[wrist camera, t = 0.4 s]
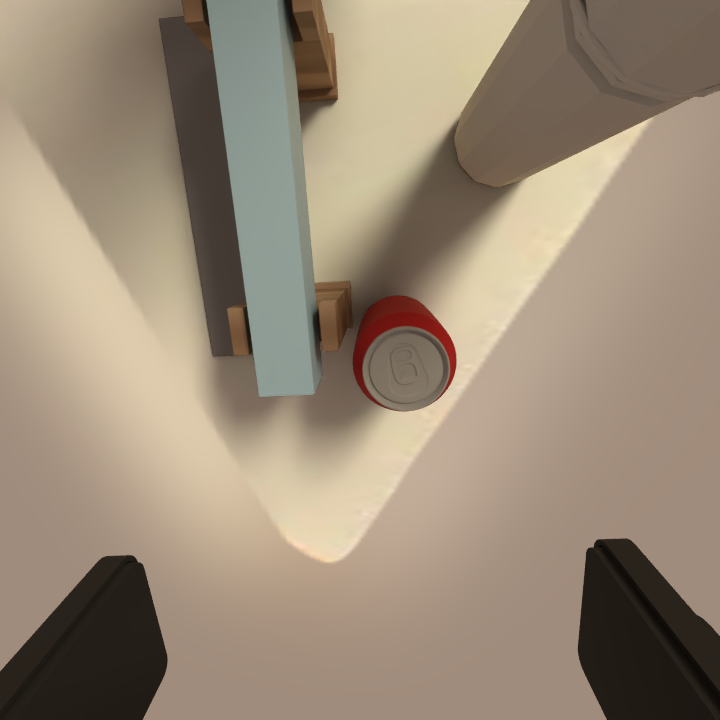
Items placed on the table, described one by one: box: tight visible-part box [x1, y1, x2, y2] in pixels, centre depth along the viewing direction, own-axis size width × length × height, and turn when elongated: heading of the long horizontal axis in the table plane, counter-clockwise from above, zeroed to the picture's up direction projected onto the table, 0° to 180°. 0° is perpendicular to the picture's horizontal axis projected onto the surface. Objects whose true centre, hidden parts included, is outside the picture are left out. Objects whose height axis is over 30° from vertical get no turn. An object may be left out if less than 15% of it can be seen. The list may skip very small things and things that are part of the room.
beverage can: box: [353, 296, 456, 411], centre depth 30 cm, size 7×7×12 cm
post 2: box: [227, 281, 353, 356], centre depth 30 cm, size 4×7×11 cm, turn 93°
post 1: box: [182, 0, 338, 102], centre depth 26 cm, size 4×7×11 cm, turn 93°
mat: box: [159, 16, 253, 356], centre depth 34 cm, size 26×6×1 cm, turn 3°
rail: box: [206, 0, 323, 397], centre depth 24 cm, size 26×4×4 cm, turn 3°
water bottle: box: [454, 0, 720, 187], centre depth 19 cm, size 9×8×25 cm
